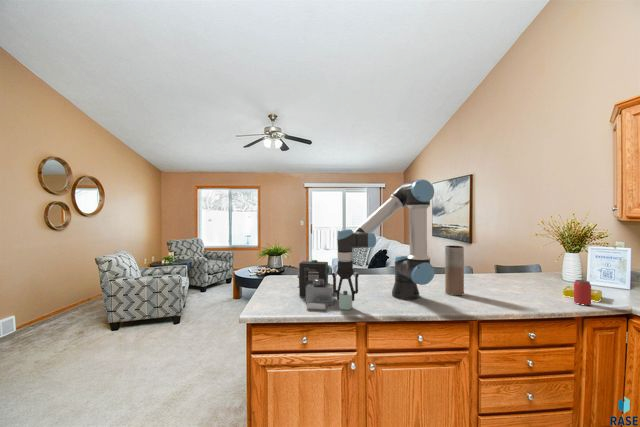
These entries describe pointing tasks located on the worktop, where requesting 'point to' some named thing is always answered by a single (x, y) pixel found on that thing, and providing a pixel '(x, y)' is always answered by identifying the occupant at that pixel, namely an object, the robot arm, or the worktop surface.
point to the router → (311, 274)
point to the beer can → (582, 292)
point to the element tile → (595, 294)
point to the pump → (345, 300)
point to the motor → (319, 295)
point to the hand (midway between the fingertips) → (345, 306)
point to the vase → (454, 270)
